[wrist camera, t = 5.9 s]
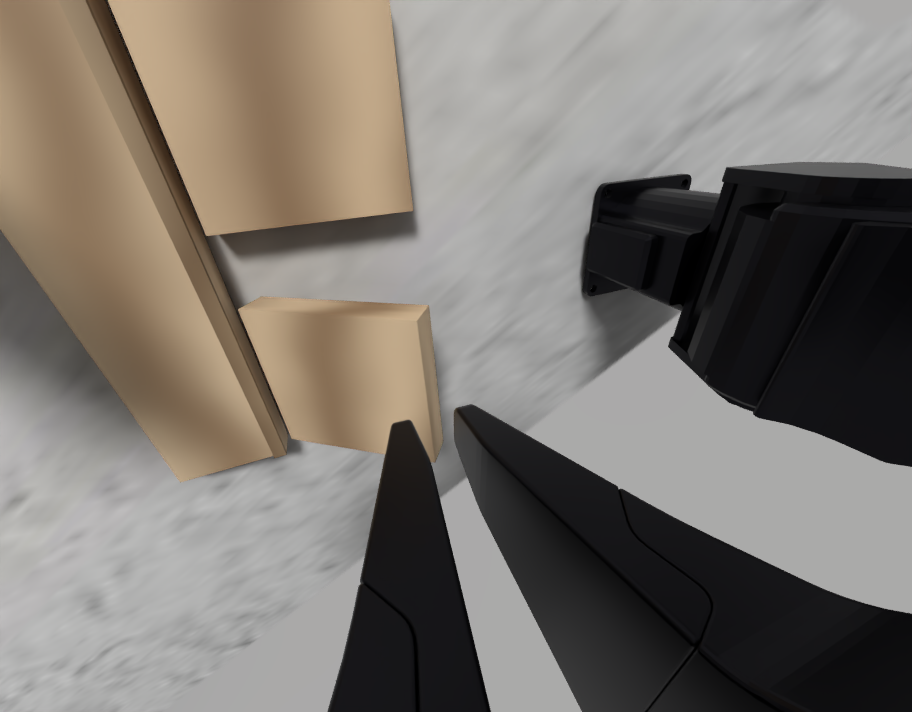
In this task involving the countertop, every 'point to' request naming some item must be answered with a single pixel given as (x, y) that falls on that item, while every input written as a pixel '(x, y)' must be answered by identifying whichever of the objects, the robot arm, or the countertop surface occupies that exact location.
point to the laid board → (123, 239)
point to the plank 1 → (275, 106)
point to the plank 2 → (348, 369)
